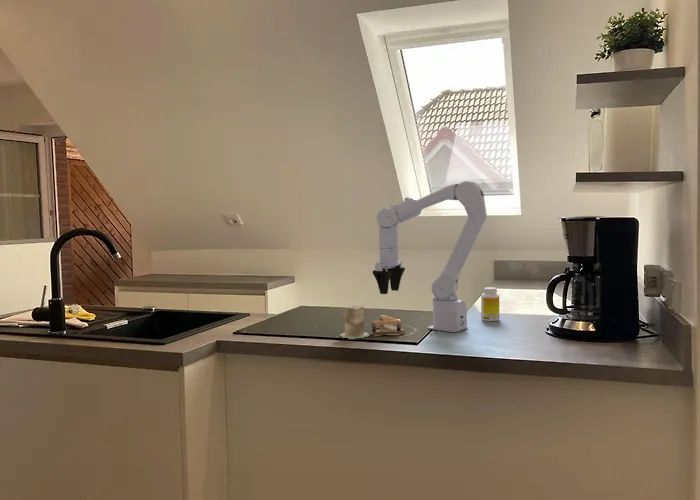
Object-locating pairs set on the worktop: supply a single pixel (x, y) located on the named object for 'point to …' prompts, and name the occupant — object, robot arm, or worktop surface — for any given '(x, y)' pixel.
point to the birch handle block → (354, 321)
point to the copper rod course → (386, 326)
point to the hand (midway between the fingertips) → (389, 292)
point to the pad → (354, 337)
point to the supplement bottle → (490, 304)
